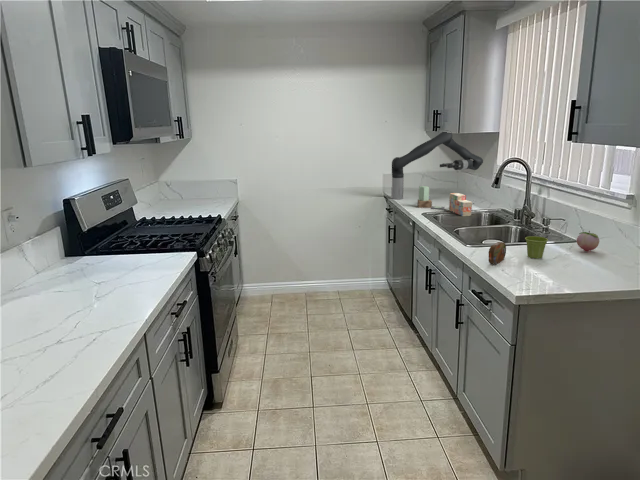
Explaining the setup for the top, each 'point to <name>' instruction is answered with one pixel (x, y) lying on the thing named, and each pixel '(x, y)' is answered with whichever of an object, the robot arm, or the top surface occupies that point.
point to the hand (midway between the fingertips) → (443, 166)
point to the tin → (497, 253)
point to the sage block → (424, 193)
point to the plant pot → (535, 246)
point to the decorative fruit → (587, 241)
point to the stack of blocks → (460, 204)
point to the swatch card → (437, 207)
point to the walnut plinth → (424, 204)
